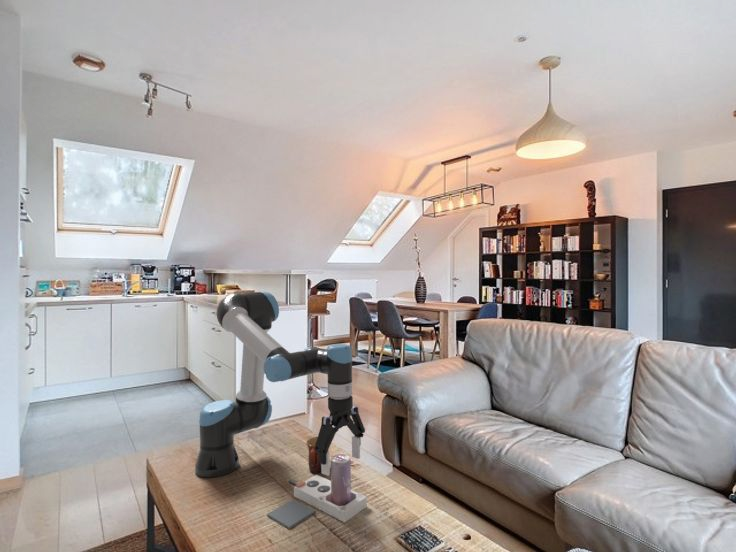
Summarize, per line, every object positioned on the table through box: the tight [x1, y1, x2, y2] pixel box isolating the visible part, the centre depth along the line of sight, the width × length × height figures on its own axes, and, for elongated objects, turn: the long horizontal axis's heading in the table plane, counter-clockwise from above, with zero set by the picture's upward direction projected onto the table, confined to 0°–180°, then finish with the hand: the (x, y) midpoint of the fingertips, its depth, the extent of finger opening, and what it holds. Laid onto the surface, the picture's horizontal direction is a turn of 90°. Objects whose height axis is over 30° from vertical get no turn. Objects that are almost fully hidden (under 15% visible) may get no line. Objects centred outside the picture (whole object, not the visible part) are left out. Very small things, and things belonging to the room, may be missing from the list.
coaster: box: [266, 499, 316, 530], centre depth 121 cm, size 10×10×1 cm
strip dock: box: [288, 474, 368, 523], centre depth 130 cm, size 30×11×4 cm, turn 51°
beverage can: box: [330, 453, 352, 506], centre depth 124 cm, size 6×6×15 cm
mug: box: [305, 436, 330, 474], centre depth 147 cm, size 12×9×10 cm
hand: (341, 465), depth 124 cm, fingers open, 13 cm apart
